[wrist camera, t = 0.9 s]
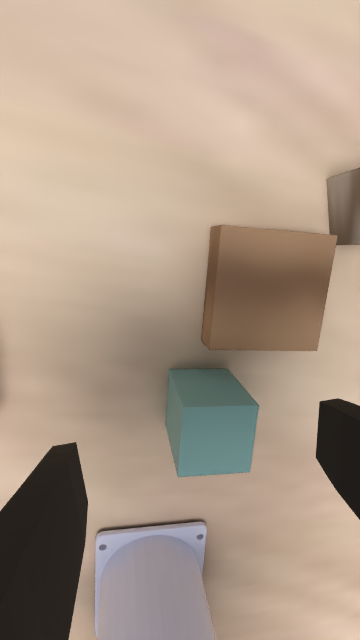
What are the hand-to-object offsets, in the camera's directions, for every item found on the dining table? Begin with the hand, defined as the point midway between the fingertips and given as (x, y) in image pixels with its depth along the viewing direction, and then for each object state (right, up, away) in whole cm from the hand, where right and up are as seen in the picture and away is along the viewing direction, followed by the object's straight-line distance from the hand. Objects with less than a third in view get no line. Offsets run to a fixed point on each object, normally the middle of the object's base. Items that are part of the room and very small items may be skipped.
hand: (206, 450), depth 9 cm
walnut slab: (+4, +6, +11) cm, 13 cm away
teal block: (0, -1, +12) cm, 12 cm away
